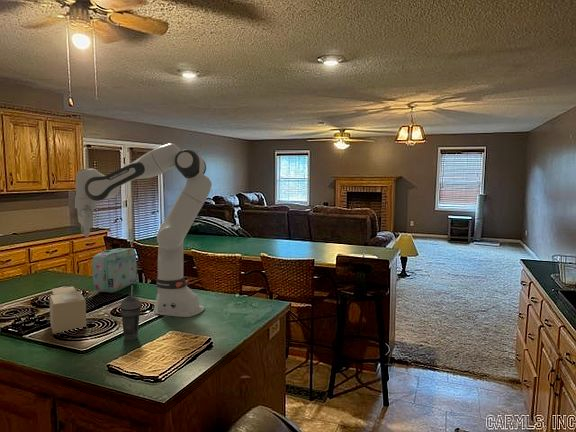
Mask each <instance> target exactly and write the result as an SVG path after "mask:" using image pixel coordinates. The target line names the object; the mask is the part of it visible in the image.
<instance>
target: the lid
mask: <svg viewBox="0 0 576 432" xmlns="http://www.w3.org/2000/svg"><path fill="white" fill-rule="evenodd" d="M51 292H52V294H50V297H51V300H52V302H53V305H54V306H56V305H63V304H70V303H77V302H85V301H86V299H85V297H84V295H83V294H82V293H81V291H79V290H78V291H77V290H76V288H75V287H74V286H65V287H55V288H51ZM50 297H49V298H50Z"/></svg>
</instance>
